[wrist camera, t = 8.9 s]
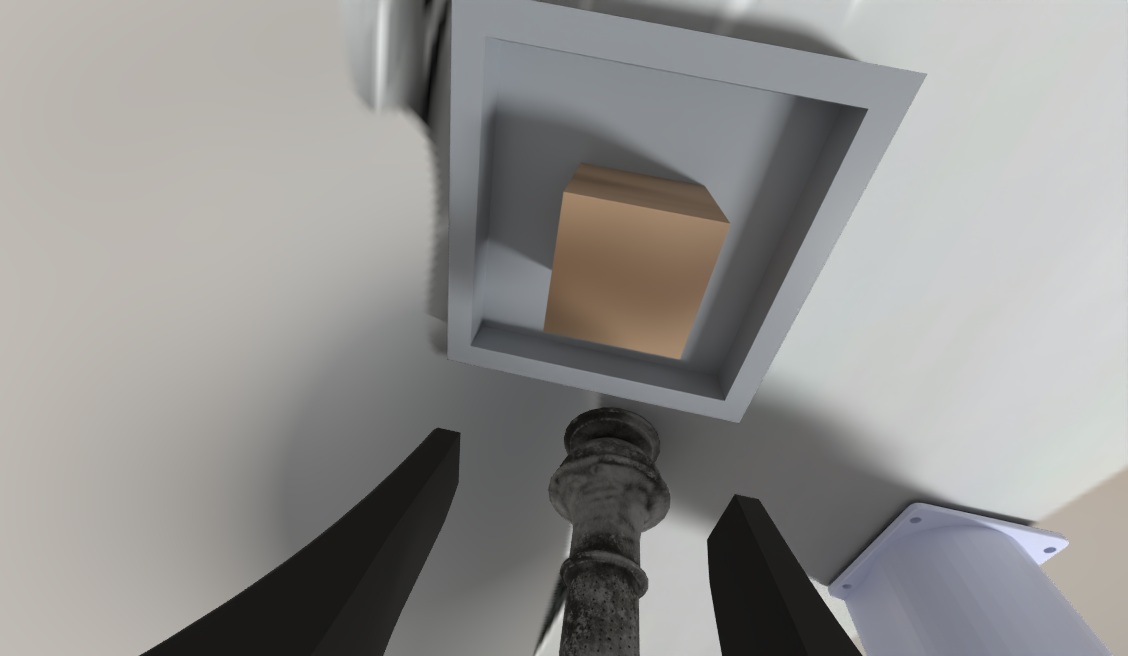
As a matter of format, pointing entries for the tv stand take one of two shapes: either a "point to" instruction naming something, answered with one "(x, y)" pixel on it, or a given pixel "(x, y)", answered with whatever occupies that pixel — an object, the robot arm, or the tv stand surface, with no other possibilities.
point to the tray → (656, 148)
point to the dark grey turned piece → (606, 528)
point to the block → (632, 259)
